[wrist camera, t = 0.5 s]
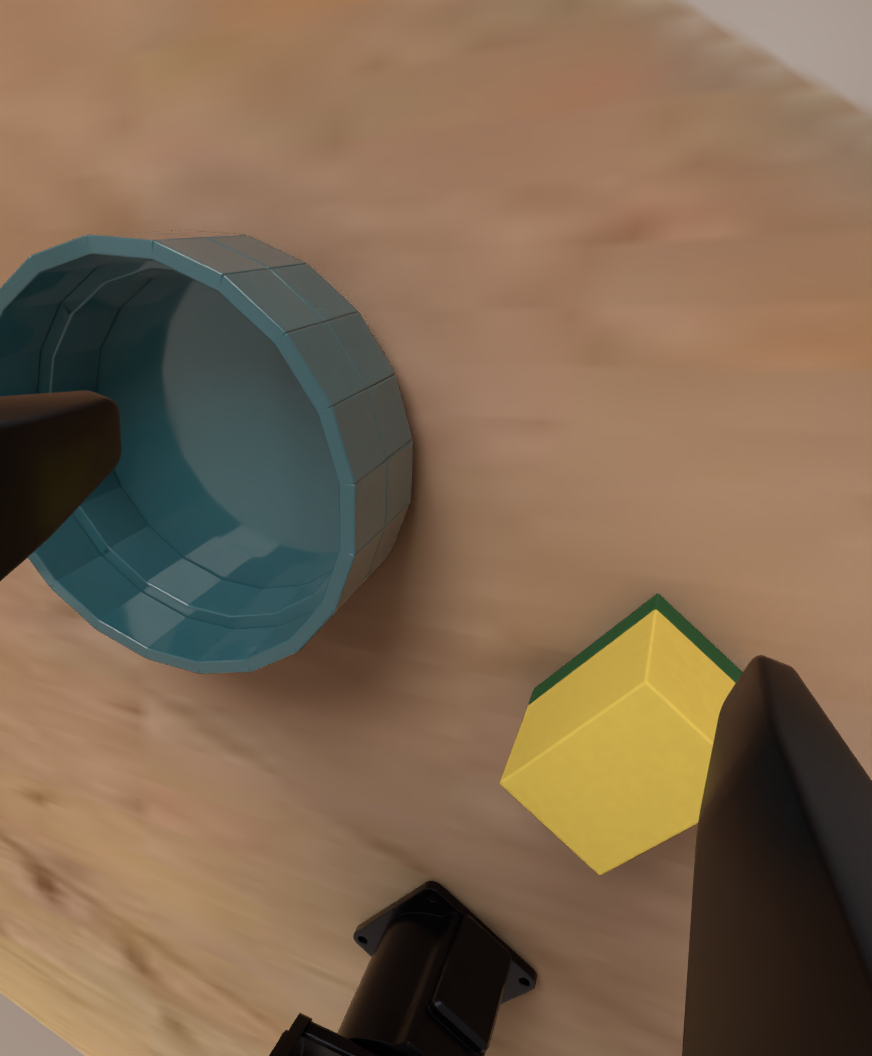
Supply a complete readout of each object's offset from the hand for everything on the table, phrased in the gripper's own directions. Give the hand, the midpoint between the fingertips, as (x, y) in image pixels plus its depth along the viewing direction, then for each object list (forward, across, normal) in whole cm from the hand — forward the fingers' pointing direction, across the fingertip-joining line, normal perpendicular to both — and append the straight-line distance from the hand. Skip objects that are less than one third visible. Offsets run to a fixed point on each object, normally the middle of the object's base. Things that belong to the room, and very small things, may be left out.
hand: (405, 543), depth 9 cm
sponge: (+12, -6, +11) cm, 18 cm away
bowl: (+13, +10, +8) cm, 18 cm away
